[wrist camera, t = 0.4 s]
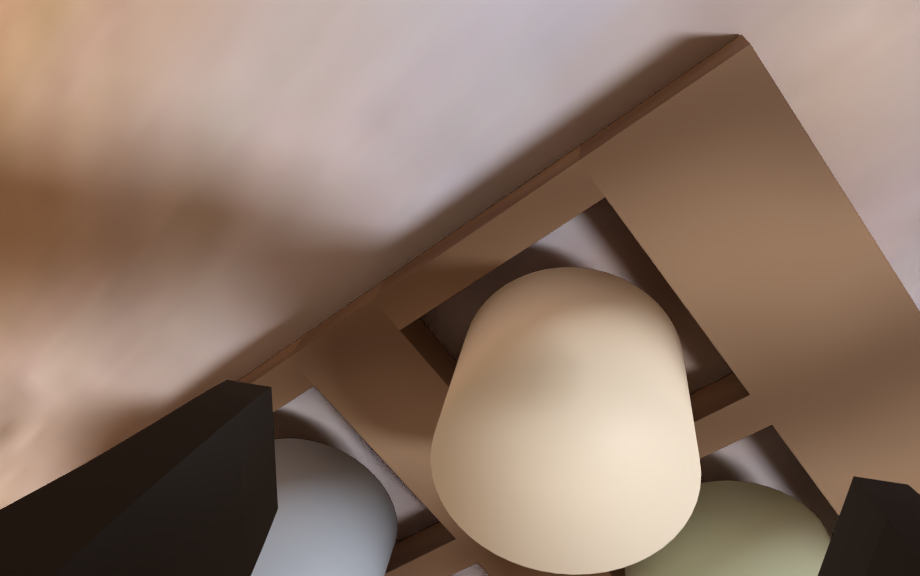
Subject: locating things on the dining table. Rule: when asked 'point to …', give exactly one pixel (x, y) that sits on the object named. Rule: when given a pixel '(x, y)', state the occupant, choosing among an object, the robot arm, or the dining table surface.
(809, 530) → the sage puck
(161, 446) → the robot arm
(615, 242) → the dining table surface
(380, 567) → the grey short rounded cylinder
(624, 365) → the cream puck
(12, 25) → the dining table surface
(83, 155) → the dining table surface
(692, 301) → the brown compartment tray
